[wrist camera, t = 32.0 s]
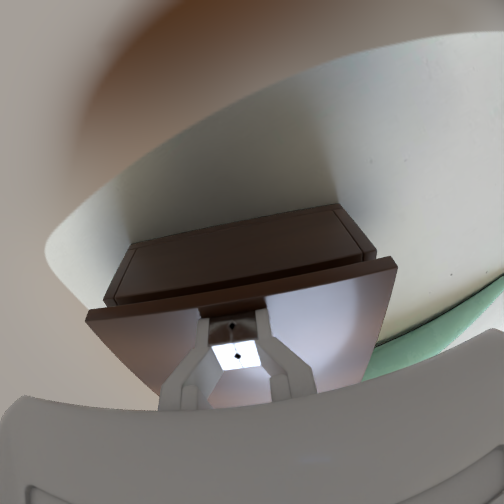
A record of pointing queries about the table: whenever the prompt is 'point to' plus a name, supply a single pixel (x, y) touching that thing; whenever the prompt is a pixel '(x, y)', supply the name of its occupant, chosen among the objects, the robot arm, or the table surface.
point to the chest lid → (282, 324)
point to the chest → (239, 255)
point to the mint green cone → (431, 335)
